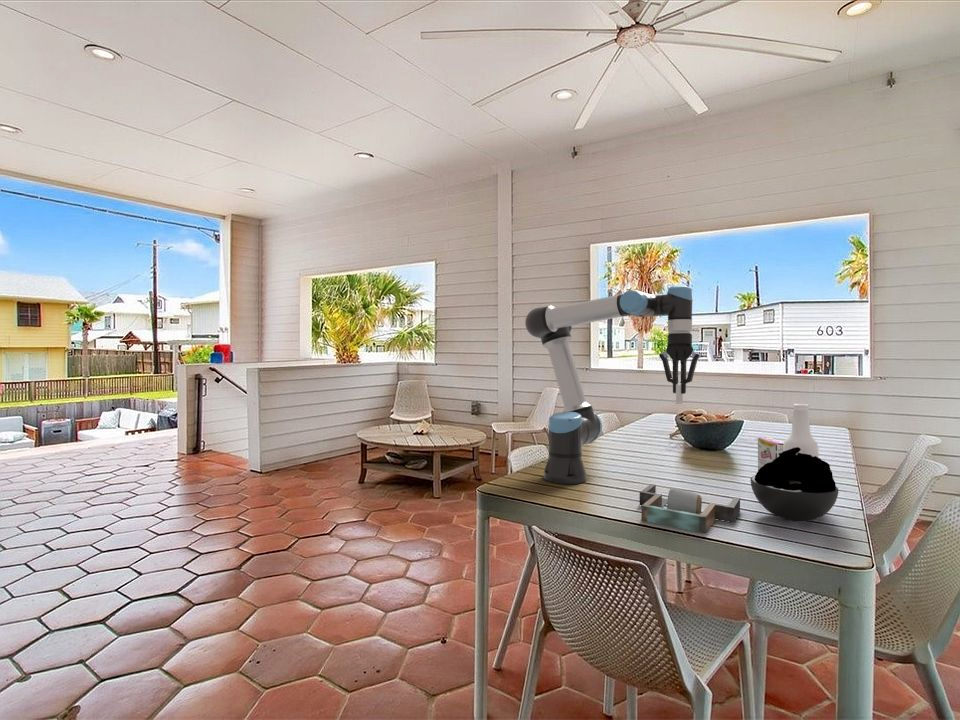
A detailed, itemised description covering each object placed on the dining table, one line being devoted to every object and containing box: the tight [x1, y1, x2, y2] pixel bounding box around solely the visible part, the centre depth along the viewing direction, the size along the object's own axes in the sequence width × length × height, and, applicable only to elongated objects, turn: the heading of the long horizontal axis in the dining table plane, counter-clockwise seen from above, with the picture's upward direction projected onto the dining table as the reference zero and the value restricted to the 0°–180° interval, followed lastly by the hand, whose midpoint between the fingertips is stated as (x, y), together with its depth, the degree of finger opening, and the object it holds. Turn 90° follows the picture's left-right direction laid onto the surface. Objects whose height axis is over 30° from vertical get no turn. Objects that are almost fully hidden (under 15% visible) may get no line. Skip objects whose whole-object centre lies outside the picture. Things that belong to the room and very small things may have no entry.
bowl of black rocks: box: [750, 447, 839, 523], centre depth 132 cm, size 20×20×19 cm
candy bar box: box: [757, 437, 784, 471], centre depth 161 cm, size 11×5×16 cm, turn 179°
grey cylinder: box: [666, 487, 703, 515], centre depth 135 cm, size 11×8×8 cm
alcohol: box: [783, 403, 820, 458], centre depth 145 cm, size 9×9×30 cm
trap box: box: [639, 483, 741, 534], centre depth 136 cm, size 25×24×4 cm
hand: (679, 403), depth 163 cm, fingers closed
